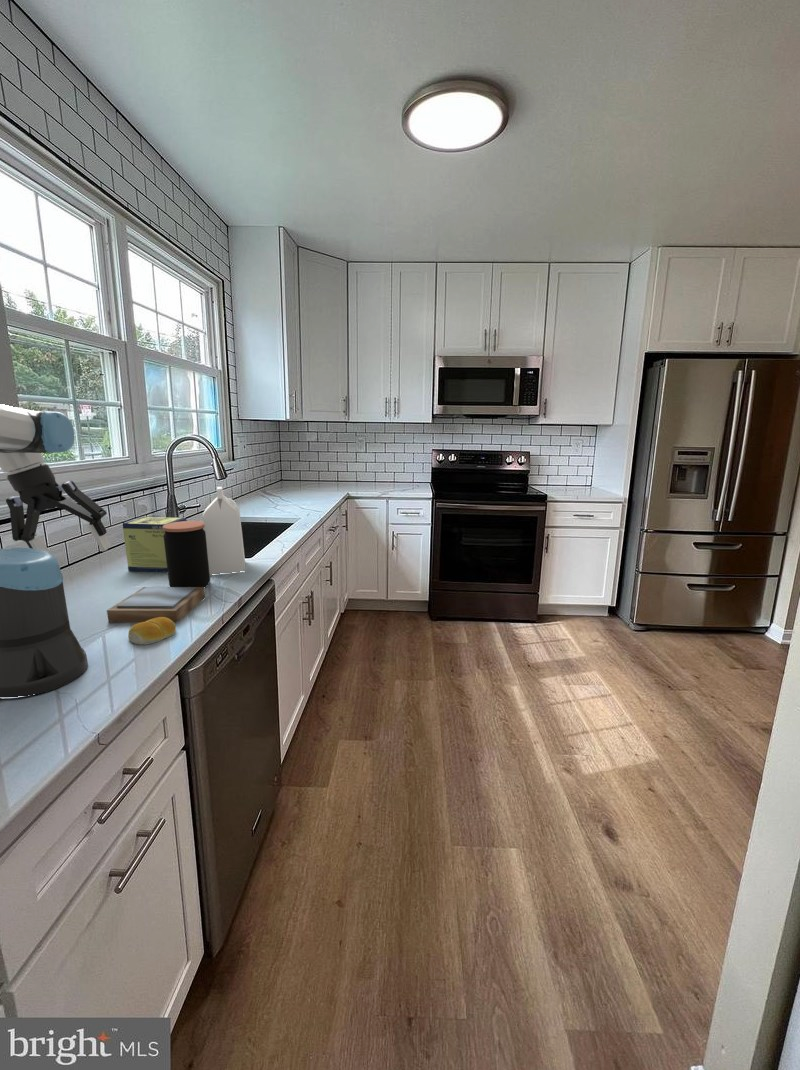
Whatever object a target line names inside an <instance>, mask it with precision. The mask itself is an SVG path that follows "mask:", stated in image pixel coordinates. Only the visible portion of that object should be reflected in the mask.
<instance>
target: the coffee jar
mask: <svg viewBox="0 0 800 1070" xmlns="http://www.w3.org/2000/svg"><path fill="white" fill-rule="evenodd" d="M204 526H205V523H204V522H203V521H200V520H187V521H181V522H174V523H169V524H166V525H164V526H163V530H164V531H165V534H164V545H165V554H166V562H167V571H168V572H167V577H168V578H167V579H168V587H205V588H206V586H207V585H209V584H210V583H211V577H210V574H209V564H208V554H207V543H206V533H205V531H204V530H203V528H204ZM207 587H208V586H207Z"/></svg>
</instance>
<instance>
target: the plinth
mask: <svg viewBox="0 0 800 1070" xmlns="http://www.w3.org/2000/svg"><path fill="white" fill-rule="evenodd" d="M205 588H206V587H205ZM205 588H204V587H170V586H143V587H142V588H140V589H139V590H137V591H135V592H134V593H132V594H130V595H129V596H128V597H125V598H123V599H122V600H121V601H119V602H117V603H116V604H115V605H113V606H111V607H110V608H108V609H107V610H106V614H107V622H108V623H128V624H131V623H134V624H137V623H141V622H146V621H147V620H150V619H153V618H157V617H166V618H169V619H170V620H172V621H173V622H174V624H175V623H176V624H177V623H179V622H180V621H181V620H182V619H184V618H185V616H186V615H188V614H189V613H190V612H191V611H192V610H194V609H195V608H196V607H197V606H198V605H200V603H201V602H203V599H204V598H205V599H206V590H205ZM205 599H204V600H205ZM196 605H197V606H196Z"/></svg>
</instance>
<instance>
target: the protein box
mask: <svg viewBox="0 0 800 1070" xmlns="http://www.w3.org/2000/svg"><path fill="white" fill-rule="evenodd" d="M181 521H188V520H187V517H162V516H160V517H158V516H157V517H156V516H155V517H153V516H143V517H142V516H141V517H139V518H136V519H132V520H129V521H125V522H123V523H122V531H123V539H124V544H125V552H126V560H127V561H126V562H127V570H128V571H129V572H147V573H151V572H152V573H168V571H167V562H166V554H165V545H164V534H165V531H164V530H163V526H164V525H166V524H169V523H174V522H181Z"/></svg>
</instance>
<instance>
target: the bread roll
mask: <svg viewBox="0 0 800 1070" xmlns="http://www.w3.org/2000/svg"><path fill="white" fill-rule="evenodd" d="M175 633H176V624H175V623H174V622H173V621H172V620H170V619H169V618H166V617H157V618H153V619H150V620H147V621H146V622H141V623H134V624H133V625H132V626H130V629H129V630H128V637H127V638H128V641H129V642H131V643H133V644H135V645H140V646H143V644H145V645H150V643H151V644H155V643H158V642H160V641H163V640H164V639H168V638H170V637H172V636H174V634H175Z"/></svg>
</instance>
